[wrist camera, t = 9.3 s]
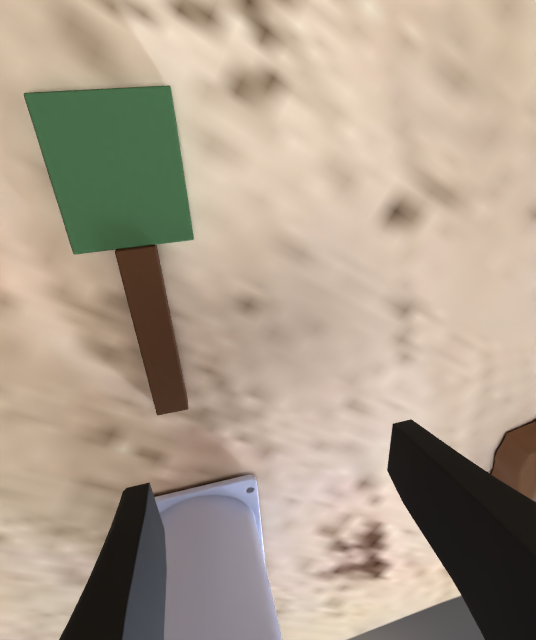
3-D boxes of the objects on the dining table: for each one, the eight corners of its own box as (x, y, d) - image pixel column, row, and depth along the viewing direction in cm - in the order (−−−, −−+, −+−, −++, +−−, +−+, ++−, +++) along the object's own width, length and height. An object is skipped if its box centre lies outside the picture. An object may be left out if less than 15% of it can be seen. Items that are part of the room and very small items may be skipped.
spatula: (216, 393, 21) (218, 403, 20) (126, 412, 20) (124, 422, 20) (170, 86, 14) (170, 84, 13) (28, 93, 13) (20, 92, 13)
